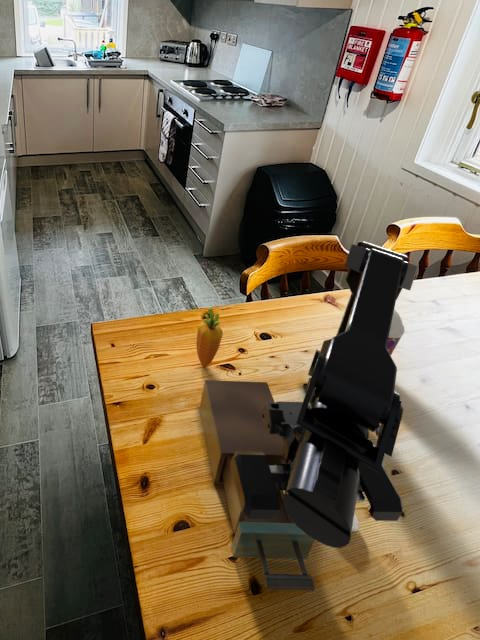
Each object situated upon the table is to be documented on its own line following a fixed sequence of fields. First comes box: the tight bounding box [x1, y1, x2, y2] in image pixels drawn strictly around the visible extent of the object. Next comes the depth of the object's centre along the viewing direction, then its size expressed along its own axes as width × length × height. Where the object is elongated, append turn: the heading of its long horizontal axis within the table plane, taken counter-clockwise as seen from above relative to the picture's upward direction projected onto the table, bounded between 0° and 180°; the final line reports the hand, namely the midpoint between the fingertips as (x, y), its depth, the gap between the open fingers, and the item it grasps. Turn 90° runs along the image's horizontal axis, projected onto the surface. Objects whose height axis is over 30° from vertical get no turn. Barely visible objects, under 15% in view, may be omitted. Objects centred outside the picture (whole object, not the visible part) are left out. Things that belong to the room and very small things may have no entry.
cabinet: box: [198, 379, 291, 486], centre depth 68 cm, size 13×12×8 cm
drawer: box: [221, 456, 316, 592], centre depth 57 cm, size 16×10×6 cm, turn 0°
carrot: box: [195, 306, 224, 368], centre depth 82 cm, size 5×5×15 cm
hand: (297, 521), depth 51 cm, fingers closed
